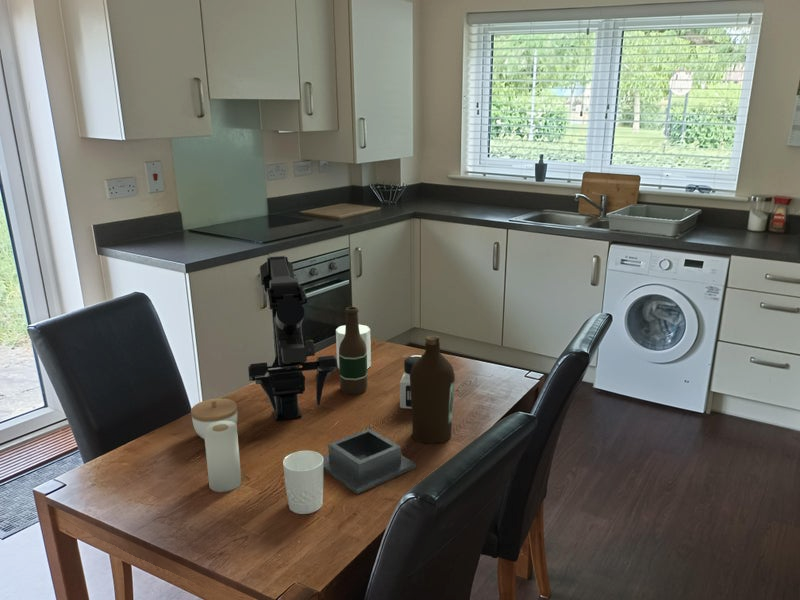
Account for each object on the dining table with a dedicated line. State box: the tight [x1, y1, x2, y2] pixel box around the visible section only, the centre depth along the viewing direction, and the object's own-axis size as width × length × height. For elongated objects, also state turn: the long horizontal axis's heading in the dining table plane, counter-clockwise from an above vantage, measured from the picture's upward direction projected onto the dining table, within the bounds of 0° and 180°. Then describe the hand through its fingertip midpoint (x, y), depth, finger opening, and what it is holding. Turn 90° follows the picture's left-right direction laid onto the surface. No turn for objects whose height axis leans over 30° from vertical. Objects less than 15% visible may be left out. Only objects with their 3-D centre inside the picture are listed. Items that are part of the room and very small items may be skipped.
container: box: [399, 354, 422, 410], centre depth 176 cm, size 8×8×13 cm
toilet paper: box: [335, 323, 372, 370], centre depth 202 cm, size 10×10×12 cm
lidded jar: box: [190, 398, 238, 441], centre depth 159 cm, size 11×11×9 cm
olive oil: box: [410, 335, 456, 445], centre depth 157 cm, size 11×11×25 cm
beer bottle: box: [338, 306, 368, 396], centre depth 183 cm, size 8×8×24 cm
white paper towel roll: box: [204, 421, 242, 493], centre depth 139 cm, size 7×7×13 cm
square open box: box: [322, 427, 417, 495], centre depth 146 cm, size 16×16×5 cm
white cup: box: [282, 450, 324, 515], centre depth 131 cm, size 8×8×10 cm
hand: (297, 408), depth 141 cm, fingers open, 9 cm apart
